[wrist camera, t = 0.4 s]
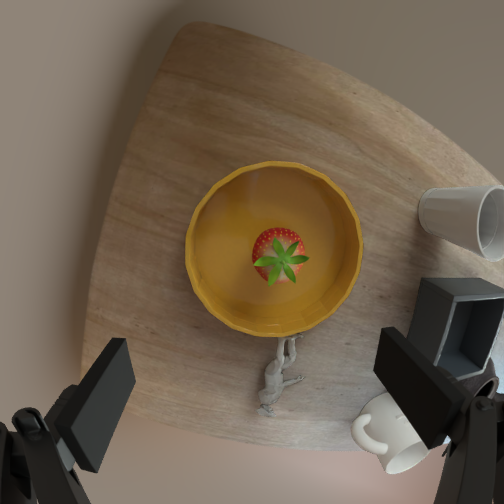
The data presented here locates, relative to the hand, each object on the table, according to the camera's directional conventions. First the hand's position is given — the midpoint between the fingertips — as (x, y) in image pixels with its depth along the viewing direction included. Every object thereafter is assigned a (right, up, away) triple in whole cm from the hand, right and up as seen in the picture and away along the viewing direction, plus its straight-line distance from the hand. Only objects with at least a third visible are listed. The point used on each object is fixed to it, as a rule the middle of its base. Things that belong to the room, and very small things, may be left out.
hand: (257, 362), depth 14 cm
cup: (+24, +11, +20) cm, 33 cm away
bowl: (+2, +6, +19) cm, 20 cm away
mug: (+19, -20, +26) cm, 38 cm away
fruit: (+2, +6, +19) cm, 20 cm away
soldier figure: (+3, -10, +23) cm, 25 cm away
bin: (+29, -5, +23) cm, 38 cm away
